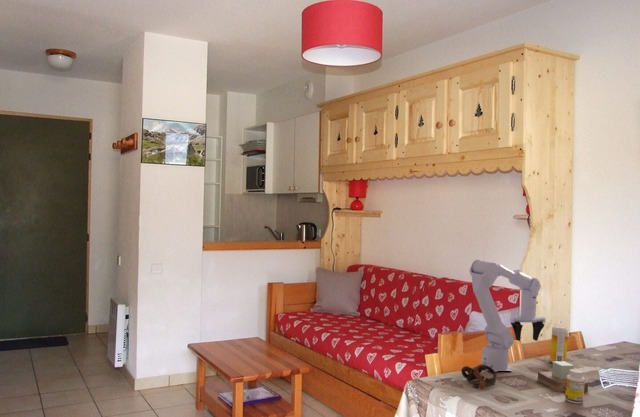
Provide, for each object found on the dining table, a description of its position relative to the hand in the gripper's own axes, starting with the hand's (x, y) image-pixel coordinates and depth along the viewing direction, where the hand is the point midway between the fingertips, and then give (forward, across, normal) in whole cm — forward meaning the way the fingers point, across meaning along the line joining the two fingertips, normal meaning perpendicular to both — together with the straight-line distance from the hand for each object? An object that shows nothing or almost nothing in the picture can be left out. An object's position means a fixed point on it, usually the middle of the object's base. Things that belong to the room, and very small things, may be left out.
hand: (526, 340), depth 223 cm
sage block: (+7, +1, -23) cm, 24 cm away
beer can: (+11, +17, +4) cm, 21 cm away
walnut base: (+10, 0, -23) cm, 25 cm away
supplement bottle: (+10, -5, -38) cm, 40 cm away
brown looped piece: (+10, -32, -21) cm, 40 cm away
